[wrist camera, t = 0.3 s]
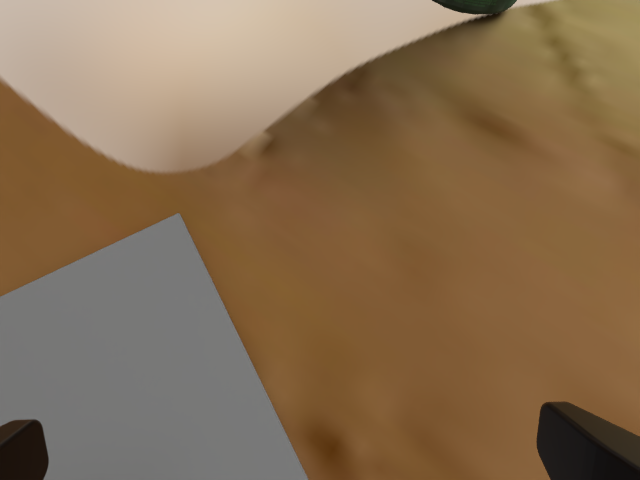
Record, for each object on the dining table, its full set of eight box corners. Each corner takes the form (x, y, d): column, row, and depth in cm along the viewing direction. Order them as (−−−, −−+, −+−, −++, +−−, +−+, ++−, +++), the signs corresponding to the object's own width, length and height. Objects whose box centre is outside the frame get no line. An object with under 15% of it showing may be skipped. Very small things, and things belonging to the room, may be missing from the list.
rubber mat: (314, 491, 20) (314, 493, 20) (19, 677, 18) (12, 683, 18) (180, 215, 25) (178, 212, 24) (-72, 334, 22) (-79, 333, 22)
